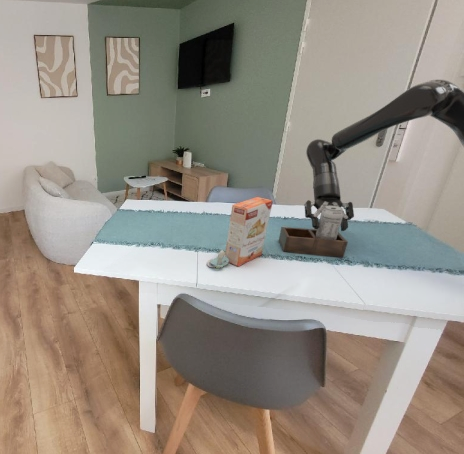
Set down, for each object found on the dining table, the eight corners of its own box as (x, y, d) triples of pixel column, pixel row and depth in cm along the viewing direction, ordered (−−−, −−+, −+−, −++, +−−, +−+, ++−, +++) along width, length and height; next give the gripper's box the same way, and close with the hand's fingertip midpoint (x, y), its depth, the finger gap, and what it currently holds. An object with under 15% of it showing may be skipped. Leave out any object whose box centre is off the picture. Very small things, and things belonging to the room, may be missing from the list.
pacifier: (202, 266, 100) (218, 272, 95) (203, 249, 97) (220, 255, 93) (214, 258, 104) (230, 264, 99) (215, 242, 101) (232, 248, 97)
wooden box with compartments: (333, 245, 108) (337, 231, 105) (343, 257, 100) (348, 242, 97) (278, 240, 114) (281, 226, 111) (283, 251, 105) (286, 237, 103)
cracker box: (238, 267, 97) (248, 209, 89) (223, 260, 102) (230, 204, 94) (263, 255, 104) (273, 199, 95) (247, 249, 108) (256, 195, 100)
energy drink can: (335, 246, 105) (346, 207, 99) (331, 252, 101) (343, 212, 95) (315, 241, 109) (325, 203, 103) (311, 247, 105) (321, 208, 99)
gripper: (307, 182, 105) (310, 223, 99) (355, 183, 101) (361, 226, 95) (300, 192, 111) (302, 231, 106) (344, 193, 107) (349, 234, 102)
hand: (330, 229), depth 100 cm, fingers open, 7 cm apart
